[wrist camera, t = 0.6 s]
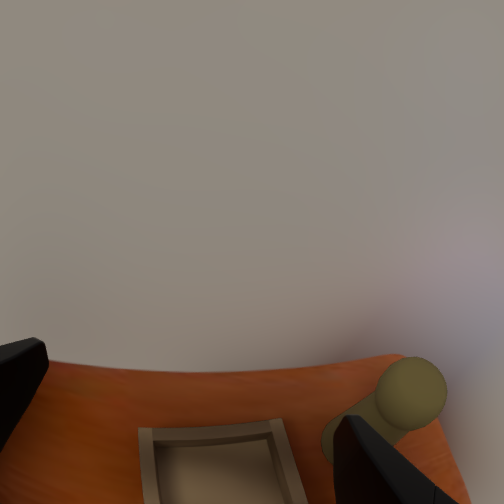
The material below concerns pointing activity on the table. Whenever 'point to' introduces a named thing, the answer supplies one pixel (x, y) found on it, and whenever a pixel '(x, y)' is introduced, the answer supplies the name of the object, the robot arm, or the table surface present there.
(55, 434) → the table surface
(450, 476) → the table surface
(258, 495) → the track
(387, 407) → the olive pawn figure
